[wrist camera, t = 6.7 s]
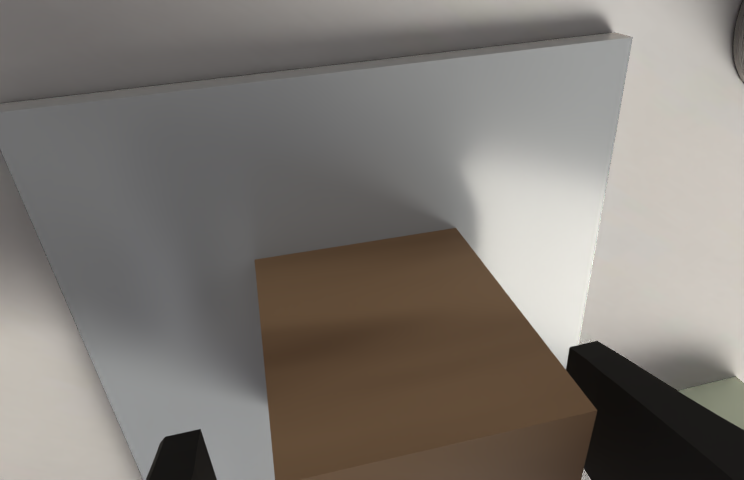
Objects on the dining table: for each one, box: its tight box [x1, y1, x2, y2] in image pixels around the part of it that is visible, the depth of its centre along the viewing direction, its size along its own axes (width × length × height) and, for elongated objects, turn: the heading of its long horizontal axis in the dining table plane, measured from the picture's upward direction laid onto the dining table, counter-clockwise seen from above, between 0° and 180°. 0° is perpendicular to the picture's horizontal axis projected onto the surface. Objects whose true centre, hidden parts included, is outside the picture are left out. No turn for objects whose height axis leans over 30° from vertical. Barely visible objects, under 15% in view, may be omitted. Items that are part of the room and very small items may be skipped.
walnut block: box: [255, 228, 597, 480], centre depth 11 cm, size 4×4×6 cm
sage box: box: [678, 377, 744, 430], centre depth 18 cm, size 4×4×4 cm
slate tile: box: [0, 32, 633, 480], centre depth 13 cm, size 12×12×1 cm
